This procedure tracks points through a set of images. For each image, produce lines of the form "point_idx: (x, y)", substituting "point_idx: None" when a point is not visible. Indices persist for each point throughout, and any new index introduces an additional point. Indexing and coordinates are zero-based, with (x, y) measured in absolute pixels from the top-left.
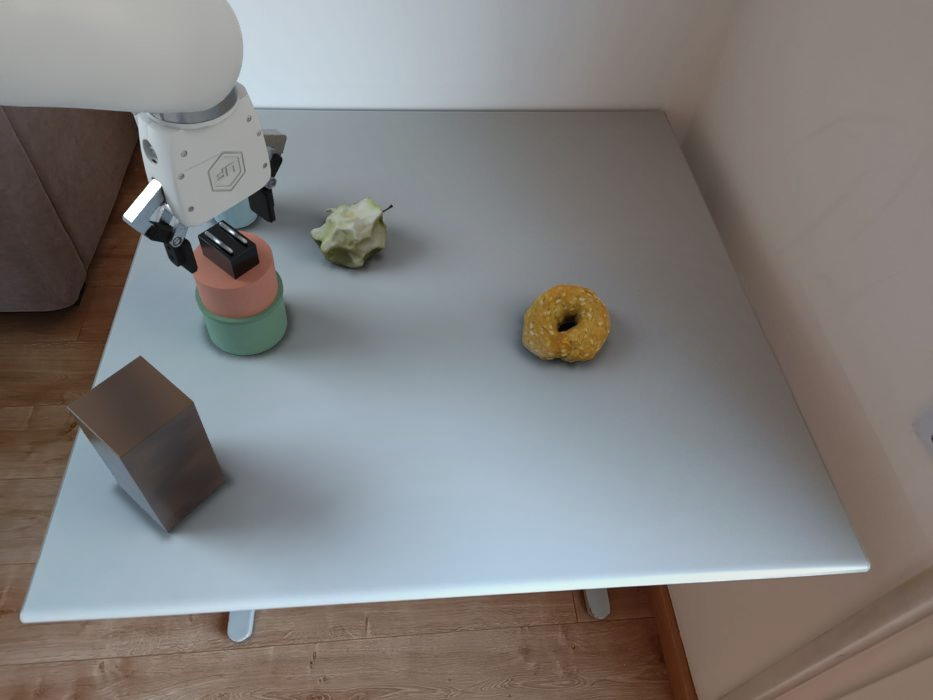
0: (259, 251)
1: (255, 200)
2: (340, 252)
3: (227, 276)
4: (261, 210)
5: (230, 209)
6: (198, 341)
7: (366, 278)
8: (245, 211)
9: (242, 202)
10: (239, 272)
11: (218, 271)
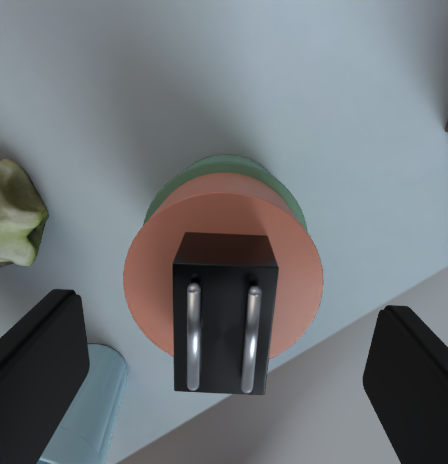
0: (158, 260)
1: (52, 391)
2: (17, 200)
3: None
4: (65, 345)
5: (103, 381)
6: None
7: (20, 139)
8: None
9: None
10: (252, 240)
11: None
